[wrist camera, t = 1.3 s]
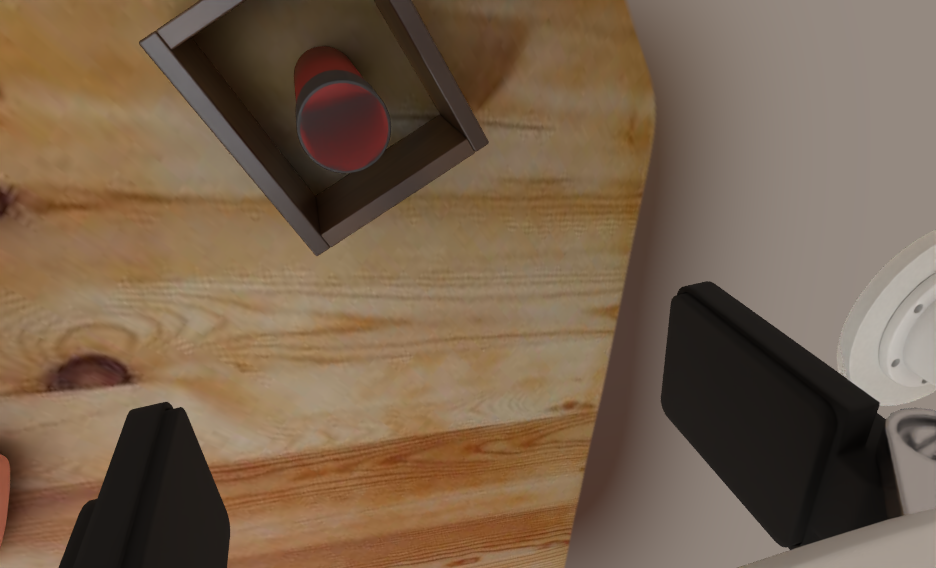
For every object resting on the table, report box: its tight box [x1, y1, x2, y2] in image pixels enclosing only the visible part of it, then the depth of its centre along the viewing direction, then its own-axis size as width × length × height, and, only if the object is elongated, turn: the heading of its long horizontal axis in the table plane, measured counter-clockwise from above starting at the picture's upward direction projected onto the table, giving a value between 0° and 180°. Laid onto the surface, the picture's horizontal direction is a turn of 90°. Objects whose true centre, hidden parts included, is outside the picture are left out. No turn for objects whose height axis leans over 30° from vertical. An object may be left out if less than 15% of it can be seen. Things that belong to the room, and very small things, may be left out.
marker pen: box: [294, 46, 391, 173], centre depth 24 cm, size 3×3×11 cm
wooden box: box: [139, 0, 489, 256], centre depth 27 cm, size 10×11×6 cm
